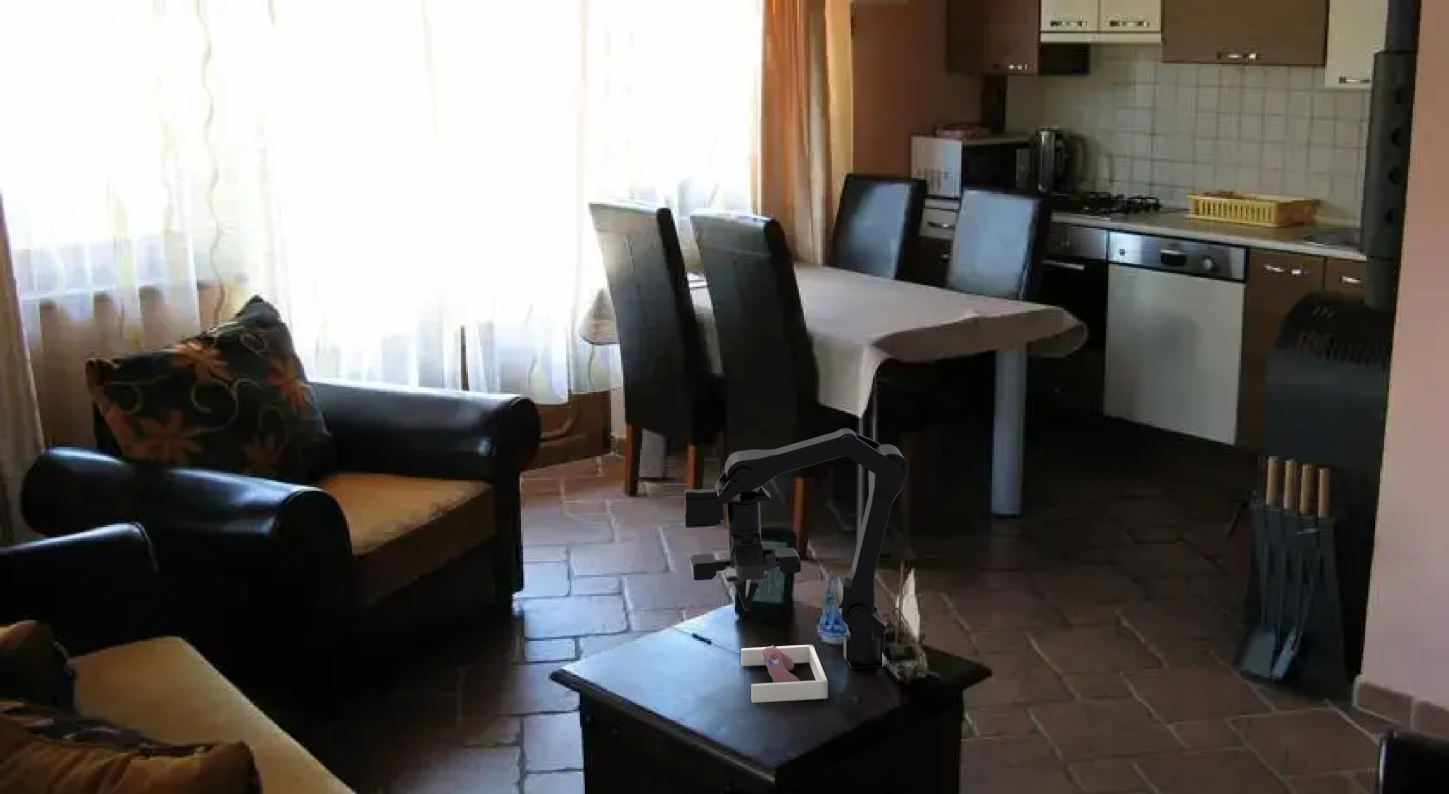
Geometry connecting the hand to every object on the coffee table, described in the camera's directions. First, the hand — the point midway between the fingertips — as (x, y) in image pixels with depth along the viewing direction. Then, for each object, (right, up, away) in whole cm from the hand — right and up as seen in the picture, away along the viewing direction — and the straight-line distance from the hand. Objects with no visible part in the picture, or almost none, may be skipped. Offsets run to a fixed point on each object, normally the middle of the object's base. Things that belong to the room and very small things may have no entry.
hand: (746, 609), depth 263 cm
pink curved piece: (+6, -12, -3) cm, 14 cm away
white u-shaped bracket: (+6, -12, -4) cm, 14 cm away
